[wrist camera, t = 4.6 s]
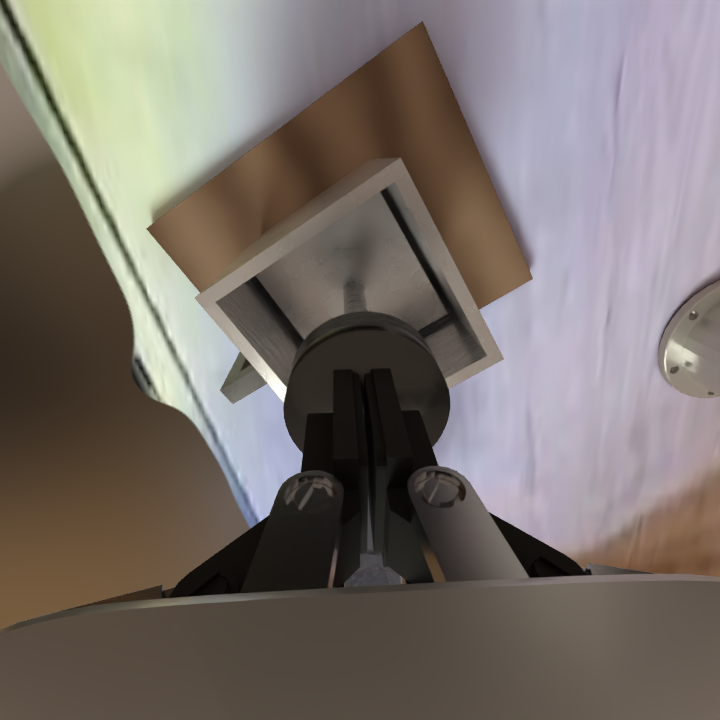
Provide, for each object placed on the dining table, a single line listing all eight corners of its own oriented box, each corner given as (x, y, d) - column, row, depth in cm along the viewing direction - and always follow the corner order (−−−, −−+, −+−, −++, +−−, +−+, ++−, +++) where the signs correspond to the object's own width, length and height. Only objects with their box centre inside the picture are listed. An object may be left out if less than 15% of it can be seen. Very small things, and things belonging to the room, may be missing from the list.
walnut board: (419, 26, 27) (422, 21, 26) (526, 275, 35) (532, 278, 34) (152, 226, 32) (146, 228, 31) (301, 404, 40) (300, 411, 39)
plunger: (376, 187, 21) (422, 219, 10) (444, 309, 24) (538, 441, 13) (256, 269, 23) (171, 379, 11) (334, 372, 26) (330, 541, 14)
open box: (370, 159, 29) (400, 157, 15) (432, 273, 33) (503, 359, 19) (230, 256, 32) (142, 334, 17) (304, 351, 36) (281, 478, 21)
